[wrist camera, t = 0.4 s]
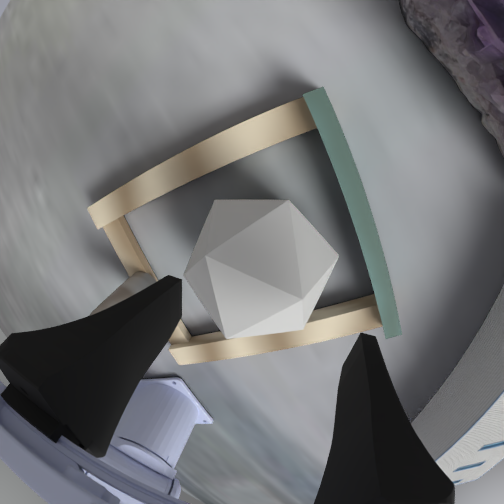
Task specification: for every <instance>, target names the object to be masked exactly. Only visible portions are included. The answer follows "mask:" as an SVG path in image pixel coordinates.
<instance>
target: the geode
mask: <svg viewBox="0 0 504 504" xmlns="http://www.w3.org/2000/svg"><path fill="white" fill-rule="evenodd" d="M399 4H400V8H401V12H402V14H403V17H404V19H405V22H406V24H407V25H408V27H409V28H410V29H411V30H412V31H413V32H414V33H415V34H416V35H417V36H418V37H419V38H420V39H421V40H422V41H423V43H424V44H425V46H426V47H427V49H428V50H429V51H430V52H431V53H432V54H433V55H434V56H435V57H436V58H437V59H438V60H439V62H440V63H441V64H442V65H443V66H444V67H445V69H446V70H447V71H448V72H449V74H450V75H451V76H452V77H453V79H454V80H455V81H456V83H457V85H458V87H459V89H460V91H461V92H462V93H463V94H464V95H465V96H466V97H467V99H468V100H469V102H470V103H471V104H472V106H473V107H474V108H475V109H477V110H478V111H479V112H480V113H481V114H482V119H481V123H482V124H483V126H484V127H485V128H486V129H487V130H488V131H489V132H490V133H491V134H492V135H493V136H494V137H495V138H496V141H497V144H498V147H499V149H500V151H501V153H502V155H503V157H504V0H399Z"/></svg>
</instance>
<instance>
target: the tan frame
mask: <svg viewBox="0 0 504 504" xmlns="http://www.w3.org/2000/svg"><path fill="white" fill-rule="evenodd" d="M316 128H318V131H319V133H320V136H321V138H322V140H323V143H324V145H325V148H326V150H327V153H328V155H329V158H330V160H331V163H332V165H333V168H334V171H335V173H336V176H337V179H338V181H339V184H340V187H341V189H342V192H343V195H344V198H345V201H346V203H347V206H348V209H349V212H350V215H351V218H352V221H353V224H354V227H355V230H356V233H357V236H358V239H359V242H360V246H361V249H362V252H363V255H364V259H365V262H366V265H367V269H368V272H369V276H370V279H371V283H372V286H373V290H374V294H372V295H369V296H365V297H361V298H358V299H354V300H351V301H347V302H343V303H340V304H336V305H332V306H328V307H324V308H320V309H317V310H313V311H312V313H311V315H310V317H309V319H308V321H307V323H306V325H305V327H304V329H303V330H297V331H290V332H282V333H275V334H267V335H258V336H250V337H240V338H230V339H226V338H225V337H224V335H223V334H222V332H221V331H219V332H214V333H209V334H203V335H198V336H193V337H191V335H190V333H189V332H188V330H187V329H186V327H185V325H184V324H183V322H182V320H181V319H180V321H179V323H178V325H177V327H176V329H175V330H174V332H173V334H172V336H171V337H170V339H169V342H170V343H171V346H170V348H169V349H168V350H169V351H170V353H171V354H172V355H173V357H174V358H175V360H176V361H177V363H178V364H179V365H186V364H194V363H202V362H210V361H217V360H224V359H231V358H237V357H244V356H250V355H256V354H261V353H267V352H273V351H278V350H283V349H288V348H293V347H298V346H303V345H308V344H313V343H317V342H322V341H326V340H331V339H335V338H339V337H343V336H347V335H351V334H355V333H359V332H363V331H367V330H371V329H375V328H378V327H382V326H383V329H384V333H385V338H386V339H388V338H392V337H395V336H399V335H402V332H401V326H400V321H399V316H398V312H397V307H396V302H395V298H394V293H393V289H392V285H391V281H390V276H389V272H388V268H387V265H386V261H385V257H384V253H383V250H382V246H381V242H380V239H379V235H378V232H377V228H376V225H375V222H374V219H373V215H372V212H371V209H370V206H369V203H368V200H367V197H366V193H365V190H364V188H363V185H362V182H361V179H360V176H359V173H358V170H357V168H356V165H355V162H354V159H353V157H352V154H351V151H350V149H349V146H348V144H347V141H346V138H345V136H344V133H343V131H342V129H341V126H340V124H339V121H338V119H337V116H336V114H335V112H334V109H333V107H332V105H331V103H330V100H329V98H328V96H327V94H326V91H325V89H324V87H321V88H318V89H316V90H313V91H310V92H307V93H305V94H303V97H301V98H299V99H296V100H294V101H291V102H289V103H286V104H284V105H281V106H279V107H276V108H274V109H272V110H269V111H267V112H265V113H262V114H260V115H258V116H255V117H253V118H251V119H249V120H246V121H244V122H242V123H240V124H238V125H235V126H233V127H231V128H229V129H227V130H225V131H223V132H220V133H218V134H216V135H214V136H212V137H210V138H208V139H206V140H204V141H202V142H200V143H198V144H196V145H194V146H192V147H190V148H188V149H187V150H185V151H183V152H181V153H179V154H177V155H175V156H173V157H172V158H170V159H168V160H166V161H164V162H162V163H161V164H159V165H157V166H155V167H153V168H152V169H150V170H148V171H146V172H145V173H143V174H141V175H140V176H138V177H136V178H135V179H133V180H131V181H129V182H128V183H126V184H125V185H123V186H121V187H120V188H118V189H116V190H115V191H113V192H112V193H110V194H108V195H107V196H105V197H104V198H102V199H101V200H99V201H97V202H96V203H94V204H93V205H91V206H90V207H88V208H87V209H88V211H89V213H90V215H91V217H92V219H93V221H94V223H95V225H96V227H97V229H100V228H101V227H103V228H104V230H105V232H106V234H107V236H108V238H109V240H110V242H111V244H112V246H113V247H114V249H115V251H116V253H117V255H118V257H119V259H120V260H121V262H122V264H123V266H124V268H125V269H126V271H127V273H128V275H129V278H128V279H127V280H126V281H125V282H124V283H123V284H122V285H120V286H119V287H118V288H117V289H116V290H115V291H114V292H113V293H112V294H111V295H110V296H108V297H107V298H106V299H105V300H104V301H103V302H102V303H101V304H100V305H99V306H98V307H97V308H96V309H95V310H94V311H92V313H91V314H90V315H93V314H95V313H98V312H100V311H102V310H105V309H107V308H109V307H111V306H113V305H115V304H117V303H119V302H121V301H123V300H125V299H127V298H129V297H130V296H132V295H134V294H136V293H138V292H140V291H141V290H143V289H145V288H147V287H148V286H150V285H152V284H153V283H155V282H157V281H158V280H157V278H156V276H155V274H154V272H153V271H152V269H151V267H150V265H149V263H148V262H147V260H146V258H145V256H144V254H143V252H142V250H141V248H140V247H139V245H138V243H137V241H136V239H135V237H134V235H133V233H132V231H131V229H130V227H129V225H128V223H127V221H126V219H125V217H124V215H125V214H127V213H129V212H131V211H132V210H134V209H136V208H138V207H140V206H142V205H144V204H146V203H148V202H150V201H152V200H154V199H156V198H157V197H159V196H161V195H163V194H165V193H167V192H169V191H171V190H173V189H176V188H178V187H180V186H182V185H184V184H186V183H188V182H190V181H192V180H194V179H196V178H198V177H201V176H203V175H205V174H207V173H209V172H211V171H214V170H216V169H218V168H220V167H222V166H225V165H227V164H229V163H231V162H234V161H236V160H238V159H241V158H243V157H245V156H248V155H250V154H252V153H255V152H257V151H259V150H262V149H264V148H267V147H269V146H272V145H274V144H277V143H279V142H282V141H284V140H287V139H289V138H292V137H294V136H297V135H300V134H302V133H305V132H308V131H310V130H313V129H316Z"/></svg>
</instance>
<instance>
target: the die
mask: <svg viewBox="0 0 504 504" xmlns="http://www.w3.org/2000/svg"><path fill="white" fill-rule="evenodd" d="M338 257H339V255H338V254H337V253H336V251H335V250H334V249H333V248H332V247H331V246H330V245H329V243H328V242H327V241H326V240H325V239H324V238H323V237H322V236H321V234H320V233H319V232H318V231H317V230H316V229H315V228H314V227H313V226H312V224H311V223H310V222H309V221H308V220H307V219H306V218H305V217H304V216H303V215H302V213H301V212H300V211H299V210H298V209H297V208H296V207H295V206H294V205H293V204H292V203H291V202H290V201H289V200H214V203H213V205H212V207H211V210H210V212H209V214H208V217H207V219H206V221H205V224H204V226H203V228H202V231H201V233H200V236H199V238H198V240H197V243H196V245H195V248H194V250H193V253H192V255H191V257H190V260H189V262H188V265H187V267H186V270H185V272H184V277H185V278H186V280H187V282H188V283H189V285H190V286H191V288H192V289H193V291H194V292H195V294H196V295H197V297H198V298H199V300H200V301H201V303H202V304H203V306H204V307H205V309H206V310H207V312H208V313H209V315H210V316H211V318H212V319H213V321H214V322H215V324H216V325H217V327H218V328H219V329H220V331H221V332H222V334H223V335H224V337H225V338H226V339H230V338H240V337H250V336H258V335H267V334H275V333H282V332H290V331H297V330H303V329H304V327H305V325H306V323H307V321H308V319H309V317H310V315H311V313H312V311H313V309H314V307H315V305H316V303H317V301H318V299H319V297H320V295H321V293H322V291H323V289H324V287H325V285H326V283H327V281H328V279H329V277H330V274H331V272H332V270H333V268H334V266H335V264H336V262H337V259H338Z"/></svg>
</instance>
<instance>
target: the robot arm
mask: <svg viewBox="0 0 504 504" xmlns="http://www.w3.org/2000/svg"><path fill="white" fill-rule="evenodd" d="M181 317H182V279H179V278H176V277H173V276H170V275H168V276H166V277H164V278H162V279H161V280H159V281H157V282H155V283H153V284H152V285H150V286H148V287H147V288H145V289H143V290H141V291H140V292H138V293H136V294H134V295H132V296H130V297H129V298H127V299H125V300H123V301H121V302H119V303H117V304H115V305H113V306H111V307H109V308H107V309H105V310H102V311H100V312H98V313H95V314H93V315H90V316H88V317H85V318H82V319H79V320H76V321H73V322H70V323H66V324H63V325H60V326H56V327H51V328H47V329H42V330H36V331H29V332H21V333H12V334H11V335H10V336H9V337H8V338H7V339H6V340H5V341H4V342H3V343H2V344H1V345H0V369H1V371H2V372H3V374H4V375H5V377H6V378H7V380H8V381H9V382H10V384H9V385H8V386H7V387H6V386H5V385H4V384H3V383H2V382H1V381H0V459H1V460H2V461H3V462H4V463H5V464H6V465H7V466H8V467H9V468H10V469H11V470H12V471H13V472H14V473H15V474H16V475H17V476H18V477H19V478H20V479H21V480H22V481H23V482H24V483H26V484H27V485H28V486H29V487H30V488H31V489H32V490H33V491H34V492H36V493H37V494H38V495H39V496H40V497H41V498H42V499H44V500H45V501H46V502H47V503H49V504H190V503H187V502H185V501H182V500H180V499H178V498H179V495H180V491H181V486H180V484H179V480H178V479H176V478H174V476H175V474H176V472H177V470H175V469H174V467H175V465H176V463H177V461H178V459H179V457H180V455H181V453H182V451H183V448H184V446H185V444H186V442H187V440H188V438H189V436H190V433H191V431H192V429H193V427H194V425H195V424H212V423H213V419H212V418H211V416H210V415H209V414H208V413H207V411H206V410H205V409H204V408H203V406H202V405H201V404H200V403H199V401H198V400H197V399H196V398H195V396H194V395H193V394H192V392H191V391H190V390H189V388H188V387H187V386H186V384H185V383H184V382H183V380H182V379H181V378H178V377H174V378H160V379H142V377H143V376H144V374H145V373H146V371H147V370H148V368H149V367H150V366H151V364H152V363H153V361H154V360H155V359H156V357H157V356H158V354H159V353H160V352H161V350H162V349H163V347H164V346H165V345H166V343H167V342H168V340H169V339H170V337H171V336H172V334H173V332H174V330H175V329H176V327H177V325H178V323H179V321H180V319H181ZM81 448H82V449H81ZM454 499H455V487H454V483H453V482H452V481H451V480H450V478H449V477H448V476H447V475H446V474H445V473H444V472H443V471H442V469H441V468H440V467H439V466H438V464H437V463H436V462H435V460H434V459H433V458H432V457H431V455H430V454H429V452H428V451H427V449H426V448H425V446H424V445H423V443H422V442H421V440H420V439H419V437H418V435H417V434H416V432H415V430H414V429H413V427H412V425H411V423H410V421H409V419H408V418H407V416H406V414H405V412H404V409H403V407H402V405H401V403H400V401H399V398H398V396H397V394H396V391H395V389H394V386H393V384H392V381H391V378H390V376H389V373H388V371H387V368H386V365H385V362H384V359H383V356H382V353H381V351H380V348H379V345H378V342H377V339H376V337H375V336H372V335H368V334H364V333H360V335H359V337H358V339H357V341H356V342H355V344H354V346H353V348H352V350H351V352H350V353H349V355H348V357H347V359H346V361H345V362H344V364H343V366H342V371H341V376H340V381H339V386H338V394H337V404H336V414H335V423H334V432H333V439H332V445H331V449H330V453H329V457H328V461H327V465H326V468H325V472H324V475H323V478H322V482H321V485H320V488H319V491H318V494H317V496H316V499H315V502H314V504H454V501H455V500H454Z"/></svg>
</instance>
